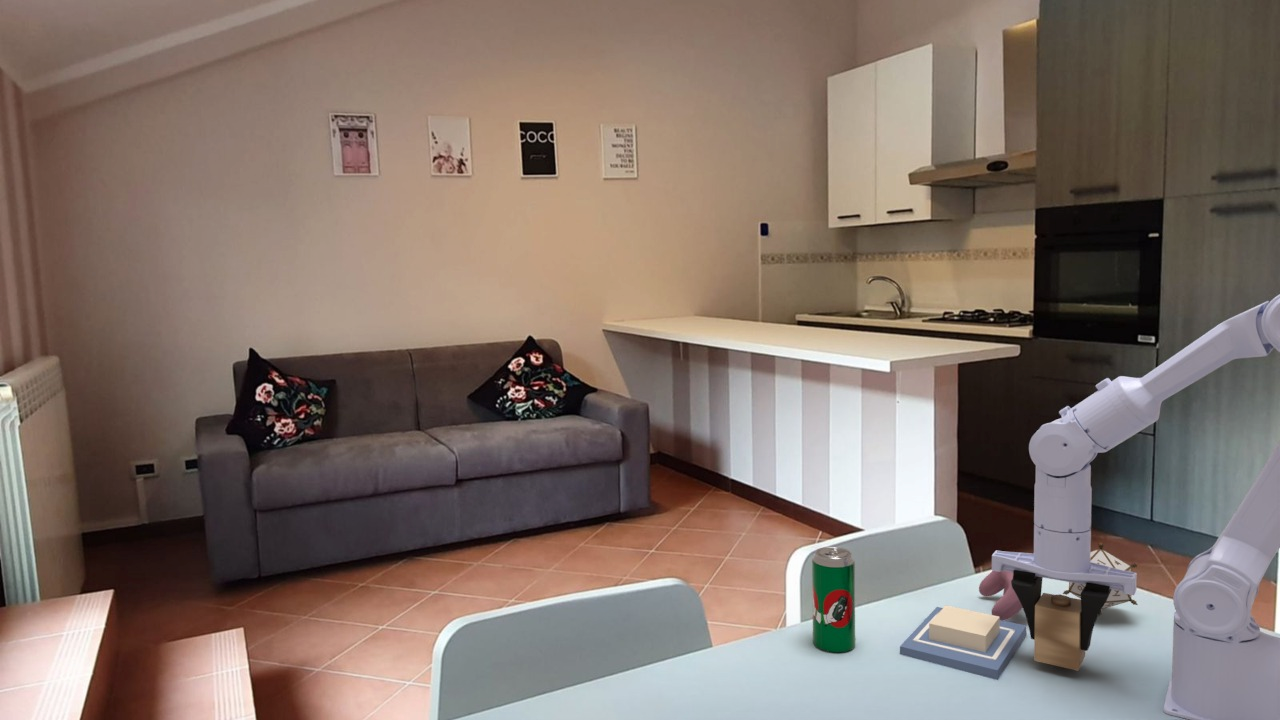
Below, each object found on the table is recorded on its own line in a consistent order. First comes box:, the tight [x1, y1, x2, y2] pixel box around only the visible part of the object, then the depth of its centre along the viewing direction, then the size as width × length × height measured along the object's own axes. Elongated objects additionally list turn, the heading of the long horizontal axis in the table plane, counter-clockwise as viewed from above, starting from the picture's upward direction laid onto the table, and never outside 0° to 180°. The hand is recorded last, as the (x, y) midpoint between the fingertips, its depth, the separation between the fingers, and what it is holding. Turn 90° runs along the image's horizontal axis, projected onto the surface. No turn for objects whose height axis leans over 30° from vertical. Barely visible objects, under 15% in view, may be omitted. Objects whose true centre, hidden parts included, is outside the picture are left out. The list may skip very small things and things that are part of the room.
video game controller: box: [978, 570, 1023, 621], centre depth 110 cm, size 10×5×7 cm, turn 168°
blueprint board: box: [899, 605, 1027, 680], centre depth 101 cm, size 11×14×3 cm
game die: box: [1062, 541, 1139, 617], centre depth 108 cm, size 9×8×10 cm
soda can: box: [811, 546, 856, 654], centre depth 101 cm, size 5×5×12 cm
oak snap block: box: [1033, 592, 1086, 672], centre depth 94 cm, size 4×4×7 cm
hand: (1060, 641), depth 95 cm, fingers closed on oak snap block, 4 cm apart
